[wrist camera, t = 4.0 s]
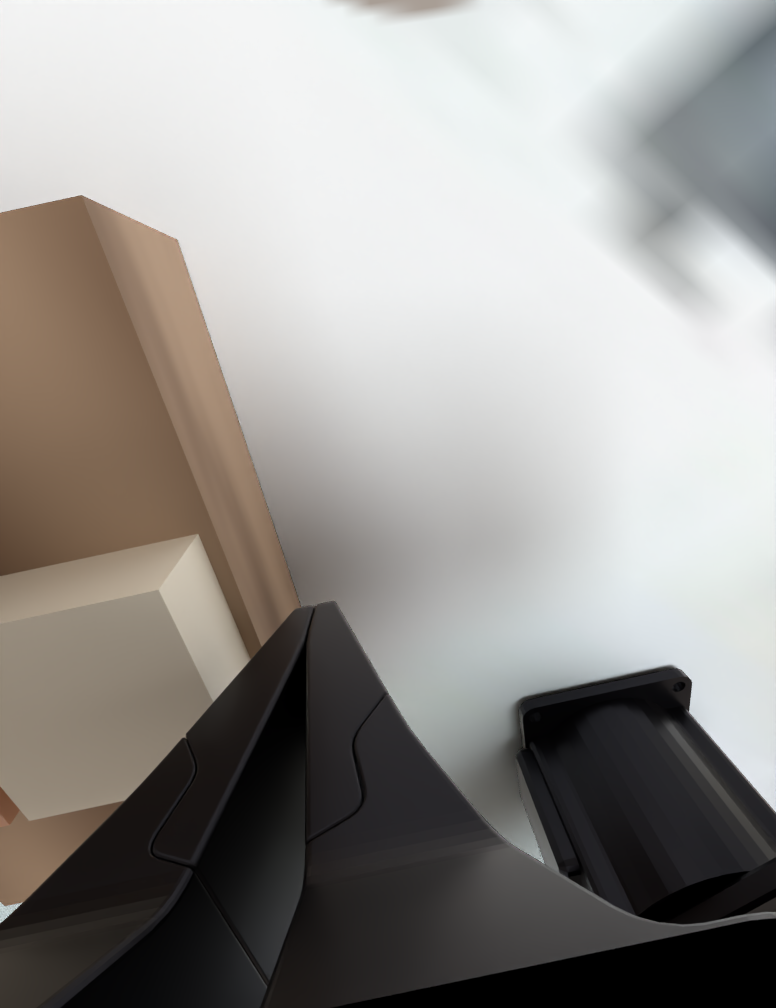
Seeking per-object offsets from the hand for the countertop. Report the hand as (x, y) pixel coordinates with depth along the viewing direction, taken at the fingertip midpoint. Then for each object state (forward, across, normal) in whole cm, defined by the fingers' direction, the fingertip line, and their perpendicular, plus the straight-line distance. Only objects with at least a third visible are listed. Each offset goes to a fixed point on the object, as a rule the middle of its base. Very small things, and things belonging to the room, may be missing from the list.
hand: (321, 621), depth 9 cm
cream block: (+1, +4, 0) cm, 4 cm away
